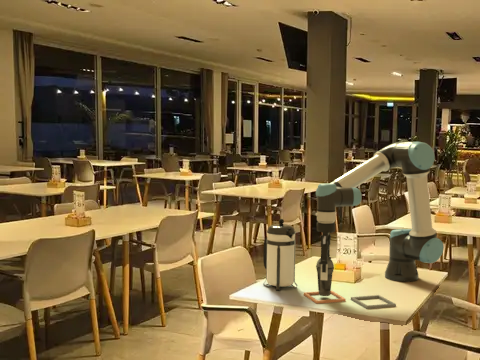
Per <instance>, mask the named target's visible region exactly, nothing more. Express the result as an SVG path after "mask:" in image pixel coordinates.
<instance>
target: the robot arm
mask: <svg viewBox="0 0 480 360" xmlns="http://www.w3.org/2000/svg"><path fill="white" fill-rule="evenodd" d="M435 159H436V156H435V152H434V149H433V148H432V146H431V145H429V144H428V143H426V142H421V141H418V140H417V141H397V142H393V143H391V144H388V145H386V146H384V147H383V148H380V150H378V151H376V152H374V154H373V156H372V157H371V158H369V159H367V160H366V161H364V162H362V163H360V164H359V165H357V166H356V167H354V168H353V169H351V170H349V171H347V172H346V173H345V174H343V175H342V176H339V177H338V178H336V179H334V180H333V181H332V182H330V183H326V182H324V183H319V184H318V185H317V187H316V190H315V196H316V213H315V216H316V221H317V222H316V232H319V233H322V234H321V235H320V239H319V240H320V258H321V261H320V262H319V264H321V279H320V280H327V277H328V262H327V259H328V258H330V259H331V260H332V257H331V255H330V250H331V248H330V247H331V239H332V235H331V233H334V232H336V223H335V222H336V217H337V216H336V215H337V211H336V210H337V209H336V208H338V207H339V208H340V207H354V206H358V205H360V204H361V202H362V196H363V195H362V192H361V190H360V189H359V188H357V187H358V186H360V185H362V184H364V183H366V182H367V181H369V180H370V179H372V178H374V177H375V176H377V175H378V174H380V173H381V172H387V171H389V170H391V169H395V168H401V172H402V175H404V177H405V178H406V185H407V187H406V188H407V195H408V196H407V197H408V206H409V213H410V221H411V228H399V229H398V228H397V229H392V230H391V231H390V233H389V234H390V235H389V258H388V259H389V261H388V263H387V267H385V268H386V269H385V271H384V277H385V278H386V279H387V280H391V281H397V282H416V281H418V280H419V271H418V267H417V265H416V261H418V262H422V263H424V264H425V263H427V264H434V263H436V262H437V261H439V260H440V258H441V256H442V255H443V252H444V243H443V241H442V240H441V239H440V238H439V237H437V230H436V229H435V228H433V223H432V221H433V220H432V211H431V203H430V202H431V201H430V195H429V194H430V193H429V185H428V174H430V172H431V168H432V166H433V165H434V162H435ZM322 260H325V261H322Z"/></svg>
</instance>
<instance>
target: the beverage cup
mask: <svg viewBox="0 0 480 360" xmlns="http://www.w3.org/2000/svg"><path fill="white" fill-rule="evenodd" d="M320 261H321V257H320V258H319V259H318V260H317V261H316V265H315V268H316V272H317V273H316V274H317V275H316V276H317V290H318V291H319V294H318V295H319V296H321V297H329V296H331V294H330V291H332V282H333V281H332V280H333V273H334V268H335V265H334V262H333V260H332V258H331V259H330V258H328V259H327V262H328V277H327V280H320V279H321V264H319V262H320ZM322 261H325V260H322ZM318 291H317V292H318Z"/></svg>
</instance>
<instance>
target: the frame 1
mask: <svg viewBox="0 0 480 360" xmlns="http://www.w3.org/2000/svg"><path fill="white" fill-rule="evenodd" d="M315 295H319V291H307V292H305V291H304V292H303V296H304V297H306V298H308V300H310V301H312V302H313V303H315V304H329V303H330V304H331V303H341V302H342V301H344V302H346V300H347V298H345V297H343V296H342V295H340V294H338V293H336V292H335V291H333V290H331V291H330V295H332V296H334V297H335V296H336V297H335V298H332V299H331V298H330V299H321V300H319V299H316V298H315V297H313V296H315Z"/></svg>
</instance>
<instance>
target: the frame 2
mask: <svg viewBox="0 0 480 360" xmlns="http://www.w3.org/2000/svg"><path fill="white" fill-rule="evenodd" d="M370 299H371V300H372V299H373V300H374V299H379V300H381V302H382V301H383V302H384V303H382V304H370V305H367V304H366V303H364V302H362V301H361V300H370ZM350 300H351V301H353V302H354V303H356V304H357V305H359V306H361V307H362V308H364V309H366V310H368V309H370V310H372V309H380V308H394V307H396V306H397V303H395V302H393V301H391V300H390V299H388V298H385V297H384V296H381V295H380V294H376V295H375V294H374V295H362V296H350Z"/></svg>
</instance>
